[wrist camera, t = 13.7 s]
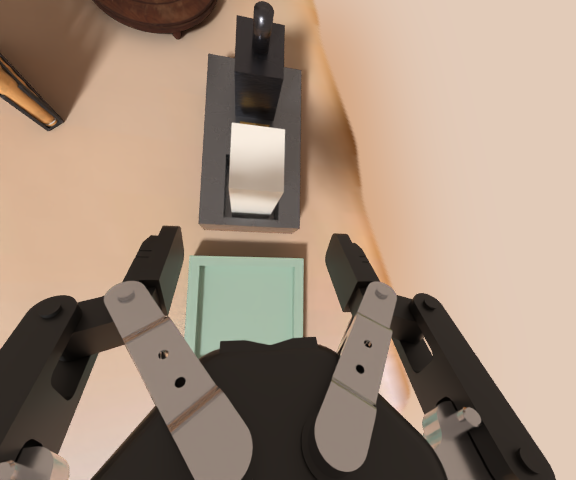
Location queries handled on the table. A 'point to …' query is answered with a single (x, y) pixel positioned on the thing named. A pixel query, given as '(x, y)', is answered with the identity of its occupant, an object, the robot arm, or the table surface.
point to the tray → (243, 301)
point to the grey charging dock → (251, 121)
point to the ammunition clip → (25, 97)
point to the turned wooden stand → (158, 14)
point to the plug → (256, 170)
